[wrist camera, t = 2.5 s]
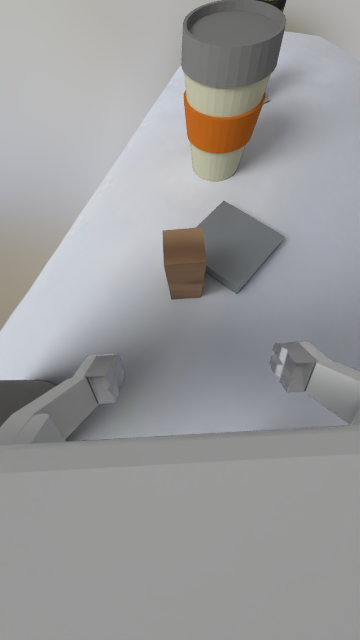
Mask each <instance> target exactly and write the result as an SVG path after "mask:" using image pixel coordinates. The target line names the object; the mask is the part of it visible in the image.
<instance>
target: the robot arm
mask: <svg viewBox="0 0 360 640" xmlns="http://www.w3.org/2000/svg"><path fill="white" fill-rule="evenodd" d="M273 351H274V354H273V355H272V356H271V360H270V364H271V368H272V371H273V372H274V374H275V375H276V376H278V377H280V381H279V382H280V383H281V384H282V386H283V387H284V389H285V390H286V392H305V393H306V394H308V395H309V396H310V397H312V398H313V399H315V400H316V401H318V402H319V403H320V404H322V405H323V406H325V407H326V408H327V409H329V410H330V411H332V412H333V413H335V414H336V415H337V416H339V417H340V418H342V419H343V420H344V421H346V422H347V423H349V424H350V425H346V426H329V427H311V428H294V429H277V430H260V431H243V432H225V433H207V434H189V435H171V436H154V437H136V438H119V439H101V440H84V441H66V440H65V439H66V438H67V437H68V436H69V435H70V434H71V433H72V432H73V431H74V430H75V429H76V428H77V427H78V426H79V425H80V424H81V423H82V422H83V421H84V420H85V419H86V417H87V416H88V415H89V414H90V413H91V412H92V411H93V410H94V409H95V408H96V407H97V406H98V404H107V403H116V400H117V397H118V394H119V388H118V387H119V386H121V385H122V383H123V379H124V369H123V366H122V365H120V364H119V363H120V360H121V359H120V356H119V355H118V354H99V355H89V356H87V357H86V358H85V360H84V361H83V363H82V364H81V365H80V367H79V368H78V370H77V371H76V373H75V374H74V375H73V377H72V378H68V379H67V380H65V381H63V382H62V383H60V384H59V385H57V386H56V387H54V388H52V389H51V390H49V391H48V392H46V393H45V394H43V395H42V396H40V397H38V398H37V399H35V400H34V401H32V402H31V403H29V404H27V405H26V406H24V407H23V408H21V409H20V410H18V411H16V412H15V413H13V414H12V415H11V416H10V417H9V418H8V419H7V420H6V421H5V423H4V424H3V425H2V426H1V427H0V640H360V371H358V370H355V369H353V368H350V367H348V366H345V365H343V364H340V363H338V362H335V361H330V360H329V359H328V358H327V357H326V356H325V355H323V354H322V353H321V352H320V351H319V350H318V349H316V348H315V347H314V346H313V345H312V344H311V343H309V342H308V341H297V342H288V343H275V345H274V346H273Z"/></svg>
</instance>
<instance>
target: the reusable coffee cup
mask: <svg viewBox="0 0 360 640" xmlns="http://www.w3.org/2000/svg"><path fill="white" fill-rule="evenodd" d="M285 24H286V18H285V15H284V14H283V13H282V11H281V10H279V9H278V8H277V7H275V6H273V5H271V4H268V3H265V2H261V1H256V0H221V1H216V2H212V3H209V4H206V5H203V6H200V7H198V8H196V9H194V10H193V11H192V12H190V13H189V14H188V15H187V16H186V17H185V19H184V22H183V39H182V63H181V66H182V69H183V71H184V75H185V86H186V90H185V93H184V106H185V116H186V126H187V136H188V139H189V141H190V144H191V156H192V167H193V171H194V172H195V174H196V175H197V176H199V177H200V178H202V179H204V180H207V181H222V180H225V179H228V178H230V177H231V176H232V175H233V174H234V173H235V172H236V170H237V167H238V164H239V162H240V159H241V156H242V153H243V150H244V148H245V145H246V144H247V142H248V141H249V140H250V138H251V135H252V133H253V130H254V127H255V124H256V122H257V119H258V116H259V114H260V111H261V108H262V106H263V103H264V100H265V89H266V86H267V83H268V81H269V78H270V75H271V73H272V72H273V71H274V69H275V67H276V65H277V60H278V56H279V52H280V47H281V43H282V38H283V34H284V29H285Z"/></svg>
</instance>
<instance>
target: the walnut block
mask: <svg viewBox="0 0 360 640" xmlns="http://www.w3.org/2000/svg"><path fill="white" fill-rule="evenodd" d="M163 252H164V267H165V272H166V276H167V281H168V285H169V290H170V295H171V299H185V298H198V297H201V293H202V287H203V281H204V275H205V269H206V264H207V259H206V251H205V243H204V235H203V227H201V228H189V229H177V230H165V231H163Z"/></svg>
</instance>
